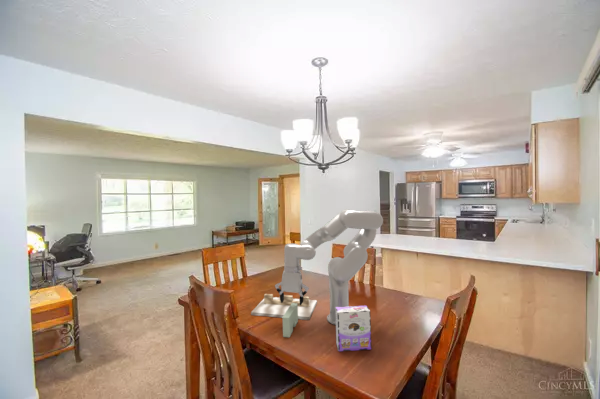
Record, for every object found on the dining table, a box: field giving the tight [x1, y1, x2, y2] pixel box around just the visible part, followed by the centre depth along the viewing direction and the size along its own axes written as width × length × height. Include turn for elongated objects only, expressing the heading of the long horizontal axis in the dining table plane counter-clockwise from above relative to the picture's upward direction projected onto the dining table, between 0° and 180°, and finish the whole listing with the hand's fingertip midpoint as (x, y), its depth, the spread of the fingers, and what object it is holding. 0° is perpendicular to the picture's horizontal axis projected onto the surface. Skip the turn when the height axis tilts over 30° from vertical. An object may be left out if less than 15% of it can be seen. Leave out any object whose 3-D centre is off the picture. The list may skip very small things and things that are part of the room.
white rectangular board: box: [250, 293, 318, 321], centre depth 155 cm, size 32×22×6 cm
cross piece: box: [281, 303, 299, 338], centre depth 132 cm, size 16×3×9 cm, turn 166°
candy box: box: [335, 305, 372, 352], centre depth 115 cm, size 14×6×16 cm, turn 92°
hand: (291, 302), depth 137 cm, fingers open, 9 cm apart
